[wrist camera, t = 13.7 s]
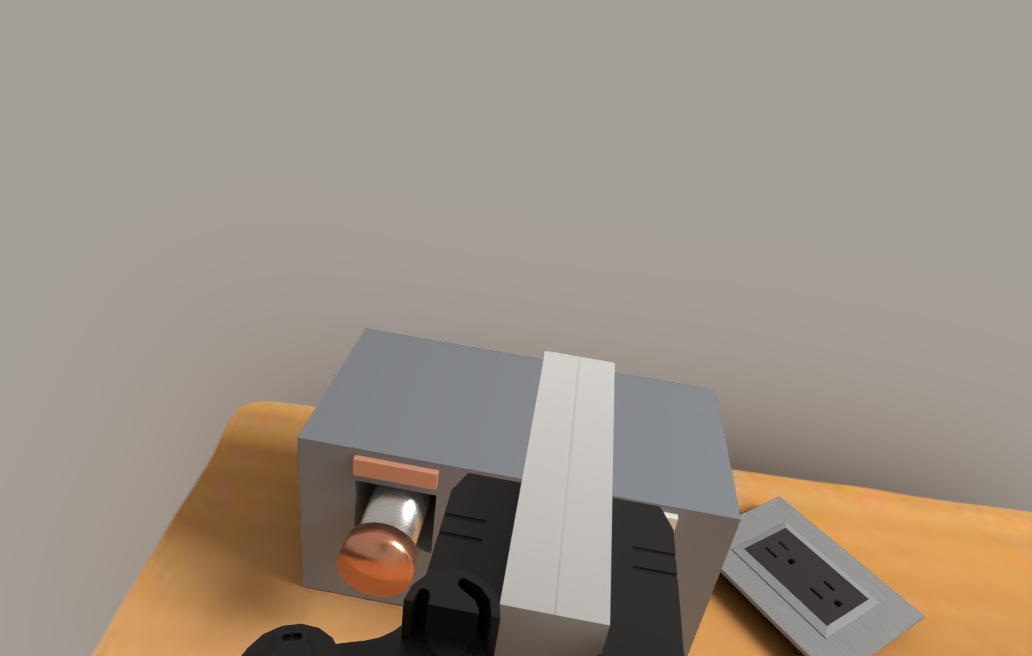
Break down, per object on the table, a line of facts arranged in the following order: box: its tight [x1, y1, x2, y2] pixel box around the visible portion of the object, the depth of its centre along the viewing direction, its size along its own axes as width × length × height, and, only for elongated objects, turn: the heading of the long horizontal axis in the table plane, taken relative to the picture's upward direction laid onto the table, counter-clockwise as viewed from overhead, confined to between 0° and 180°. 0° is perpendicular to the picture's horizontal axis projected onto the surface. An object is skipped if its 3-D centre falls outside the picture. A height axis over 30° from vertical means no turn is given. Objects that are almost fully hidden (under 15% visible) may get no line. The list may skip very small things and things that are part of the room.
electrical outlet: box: [720, 497, 925, 656], centre depth 53 cm, size 13×10×2 cm
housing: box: [297, 328, 741, 656], centre depth 50 cm, size 13×26×13 cm, turn 82°
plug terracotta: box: [336, 484, 432, 597], centre depth 46 cm, size 12×4×4 cm, turn 172°
